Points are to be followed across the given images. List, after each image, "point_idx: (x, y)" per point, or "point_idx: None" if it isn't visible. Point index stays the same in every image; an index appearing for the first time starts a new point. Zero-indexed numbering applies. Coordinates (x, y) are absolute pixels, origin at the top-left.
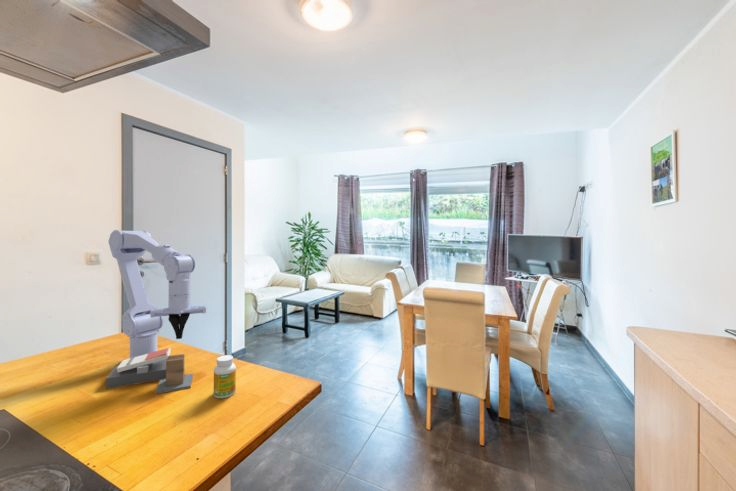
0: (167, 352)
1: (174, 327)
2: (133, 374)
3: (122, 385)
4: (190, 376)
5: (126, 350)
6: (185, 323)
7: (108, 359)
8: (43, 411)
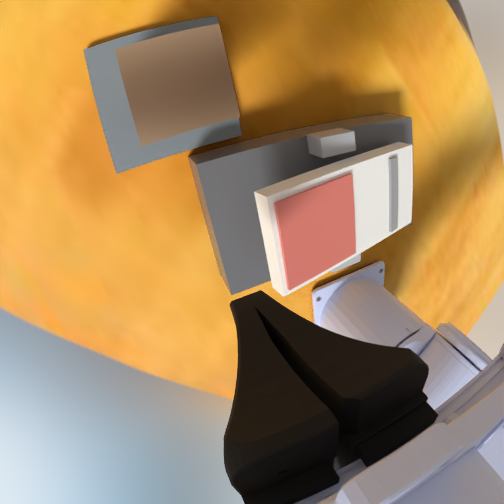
0: (276, 233)
1: (320, 334)
2: (349, 127)
3: (354, 118)
4: (114, 140)
5: None
6: (236, 396)
7: (417, 305)
8: (445, 35)
